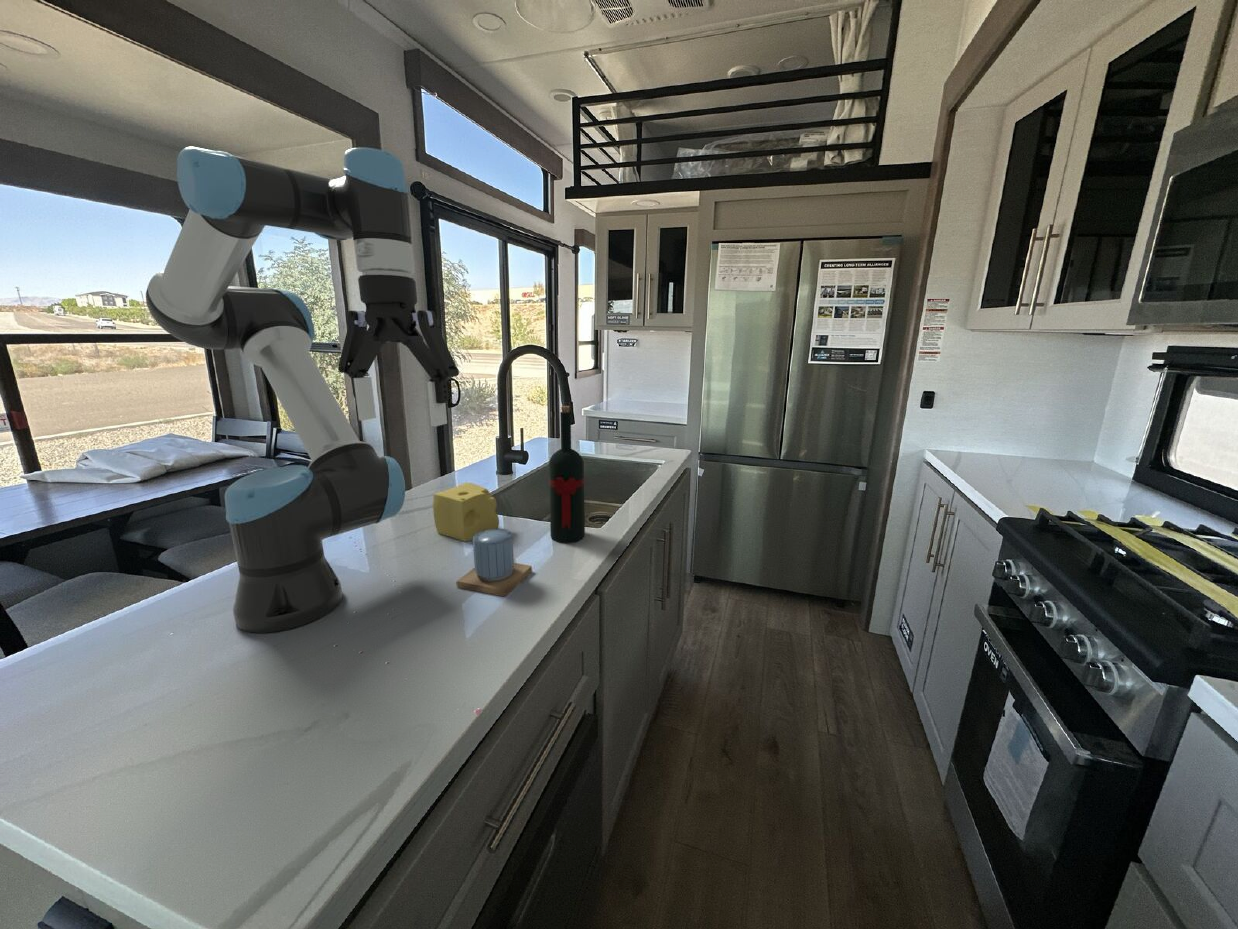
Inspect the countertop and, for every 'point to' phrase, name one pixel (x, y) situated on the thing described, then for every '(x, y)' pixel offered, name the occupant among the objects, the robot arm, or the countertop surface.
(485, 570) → the cap
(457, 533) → the cheese
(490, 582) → the wooden square stand
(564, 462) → the wine bottle
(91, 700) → the countertop surface
